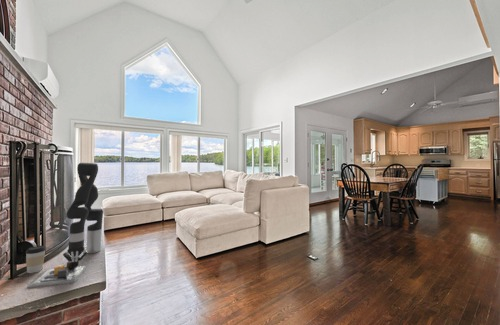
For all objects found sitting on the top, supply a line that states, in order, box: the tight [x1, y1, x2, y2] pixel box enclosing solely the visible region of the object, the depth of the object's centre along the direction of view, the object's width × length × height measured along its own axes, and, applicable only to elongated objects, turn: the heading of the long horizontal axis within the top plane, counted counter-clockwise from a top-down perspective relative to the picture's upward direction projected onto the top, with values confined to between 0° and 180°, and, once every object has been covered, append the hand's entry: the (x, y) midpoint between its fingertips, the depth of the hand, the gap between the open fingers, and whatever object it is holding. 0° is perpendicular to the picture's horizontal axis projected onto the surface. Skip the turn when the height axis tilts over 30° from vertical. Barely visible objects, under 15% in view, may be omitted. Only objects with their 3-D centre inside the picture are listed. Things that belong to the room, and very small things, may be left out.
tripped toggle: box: [53, 264, 66, 275], centre depth 131 cm, size 2×4×5 cm, turn 109°
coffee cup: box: [25, 245, 46, 274], centre depth 137 cm, size 9×9×15 cm
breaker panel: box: [26, 260, 87, 288], centre depth 131 cm, size 16×22×7 cm
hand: (75, 267), depth 133 cm, fingers closed
